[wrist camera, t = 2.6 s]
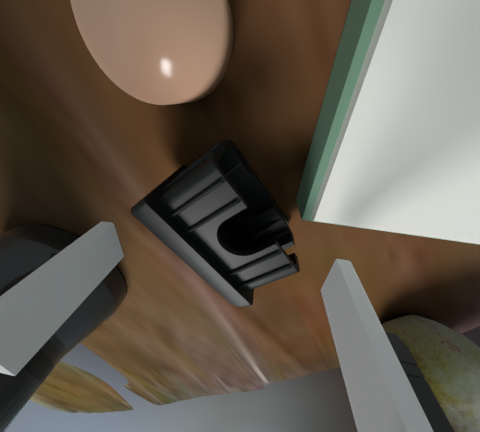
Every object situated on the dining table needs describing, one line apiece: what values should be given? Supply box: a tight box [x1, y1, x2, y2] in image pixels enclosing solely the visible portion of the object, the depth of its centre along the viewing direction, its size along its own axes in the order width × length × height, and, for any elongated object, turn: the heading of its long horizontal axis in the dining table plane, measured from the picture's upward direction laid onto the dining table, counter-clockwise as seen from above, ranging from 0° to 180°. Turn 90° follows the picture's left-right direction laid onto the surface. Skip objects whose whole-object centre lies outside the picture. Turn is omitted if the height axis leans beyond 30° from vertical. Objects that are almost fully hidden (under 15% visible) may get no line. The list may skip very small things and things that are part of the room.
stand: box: [296, 0, 480, 245], centre depth 11 cm, size 13×13×4 cm
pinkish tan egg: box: [70, 0, 234, 105], centre depth 10 cm, size 7×7×4 cm
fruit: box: [382, 315, 480, 432], centre depth 18 cm, size 10×9×12 cm
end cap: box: [131, 140, 300, 306], centre depth 14 cm, size 10×7×7 cm
